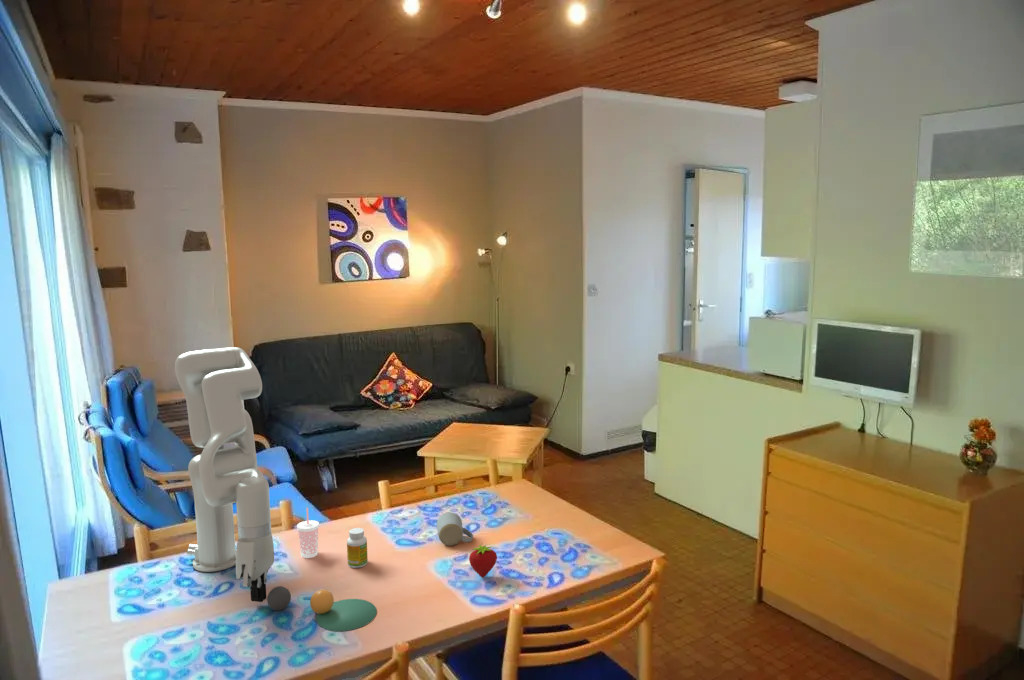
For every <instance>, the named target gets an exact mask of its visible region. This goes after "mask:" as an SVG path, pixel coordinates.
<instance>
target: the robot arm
mask: <svg viewBox="0 0 1024 680" xmlns="http://www.w3.org/2000/svg"><path fill="white" fill-rule="evenodd" d="M174 373H175V376H176V379H177V381H178V382H177V383H178V384H179V387H180V388H181V390H182V393H183V395H184V398H185V401H186V410H187V418H188V426H189V434H190V439H191V442H192V444H193V445H194V446H195V447H197V448H202V449H203V450H202V452H201V453H200V454H197V455H195V456H193V457H192V458H191V460H190V461H189V462H188V467H187V469H188V474H189V475H188V476H189V480H190V483H191V488H192V493H193V499H194V511H195V525H196V541H197V543H196V544H195V543H190V544H189V545H188V548H187V550H186V554H187V555H194V559H193V560H192V567H193V569H195V570H197V571H198V572H204V573H210V572H211V573H212V572H219V571H224V570H226V569H230V568H232V567H234V566H235V576H236V577H235V578H236V580H241V579H242V587H244V588H249V590H250V601H251V602H257V603H258V602H259V603H263V602H264V601H265V600H267V587H266V586H267V585H266V583H267V578H268V572H269V570H270V569H271V568H272V566H273V564H274V563H275V548H274V539H273V533H272V521H271V505H270V504H271V503H270V502H271V499H270V486H269V485H270V484H269V481H268V479H266V478H265V475H264V474H263V472H262V471H261V470H260V469H258V459H257V458H258V457H257V451H256V441H255V435H254V426H253V421H252V417H251V416H250V414H249V412H248V411H247V410H246V409H244V407H243V406H244V405H243V402H242V401H243V400H244V401H245V400H249V399H256V398H258V397H259V396H261V394H262V392H263V381H262V378H261V375H260V373H259V370H258V368H257V367H256V365H255V364H254V362H253V361H252V359H251V358H250V357H249V355H248V354H247V352H246V351H245V350H244V349H243V348H241V347H238V346H237V347H236V346H234V347H233V346H232V347H220V348H208V349H201V350H192V351H187V352H185V353H181V354H180V355H178V356H177V358H176V359H175V363H174ZM227 444H228V445H229V444H234V445H235V446H233V447H229V448H224V449H220V448H221V447H222V446H223V445H227ZM235 503H236V521H237V536H238V537H237V538H238V539H237V541H235V540H236V538H235V537H236V536H235V521H234V505H233V504H235ZM236 542H237V543H236Z"/></svg>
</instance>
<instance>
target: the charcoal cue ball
mask: <svg viewBox="0 0 1024 680" xmlns="http://www.w3.org/2000/svg"><path fill="white" fill-rule="evenodd" d="M291 600H292V595H291V591H290V590H289V589H288V587H285V586H282V585H279V586H275V587H273V588H272V589H270V591H269V592H268V594H267V595H266V604H267V605H268V607H269V608H270V609H271V610H274V611H282V610H284V609H285V608H287V607H288V605H289V604H290V603H291Z"/></svg>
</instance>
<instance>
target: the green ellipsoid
mask: <svg viewBox="0 0 1024 680" xmlns="http://www.w3.org/2000/svg"><path fill="white" fill-rule="evenodd" d="M377 612H378V611H377V607H376V606H375V604H373V603H372V602H371V601H368V600H365V599H361V598H346V599H342V600H341V599H339V600H336V601H334V604H333V606H332V608H331V609H330V610H329V611H328V612H326V613H324V614H318V613H316V614H317V615H316V623H317V624H318V626H320V627H321V628H322V629H325V630H327V631H332V632H347V631H353V630H356V629H359V628H363V627H364V626H365V627H366V626H367V625H368V624H370V623H371V622H372V621H373V620H374V619H375V617H376V615H377Z"/></svg>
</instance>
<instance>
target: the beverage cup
mask: <svg viewBox="0 0 1024 680" xmlns="http://www.w3.org/2000/svg"><path fill="white" fill-rule="evenodd" d="M319 527H320V522H319V521H317V520H313V519H312V520H310V519H309V507H306V520H303V521H301V522H298V523H297V524H296V529H297V532H298V533H297V534H298V540H299V541H298V542H299V550H300V556H301V558H303V557H304V559H311V558H315V557H316V556H318V553H319V552H318V551H319V550H318V548H319Z"/></svg>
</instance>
